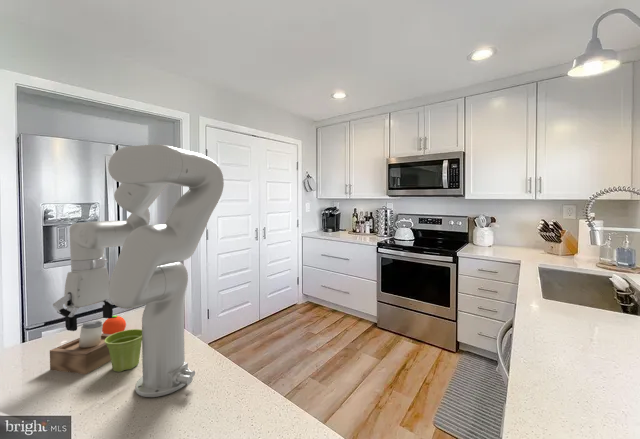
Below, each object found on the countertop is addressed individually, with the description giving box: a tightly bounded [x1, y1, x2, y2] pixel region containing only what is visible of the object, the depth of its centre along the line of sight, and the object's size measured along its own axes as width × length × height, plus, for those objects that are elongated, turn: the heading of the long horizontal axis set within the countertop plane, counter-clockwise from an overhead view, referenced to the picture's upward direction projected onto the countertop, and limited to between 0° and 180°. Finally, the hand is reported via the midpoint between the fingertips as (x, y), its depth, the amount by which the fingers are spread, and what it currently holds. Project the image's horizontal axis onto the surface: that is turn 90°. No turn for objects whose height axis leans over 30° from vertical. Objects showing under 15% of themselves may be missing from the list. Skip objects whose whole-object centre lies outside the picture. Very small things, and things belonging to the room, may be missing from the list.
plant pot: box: [104, 328, 142, 372], centre depth 80 cm, size 9×9×9 cm
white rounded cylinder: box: [79, 320, 103, 347], centre depth 83 cm, size 5×5×6 cm
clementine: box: [102, 315, 127, 334], centre depth 101 cm, size 8×7×7 cm
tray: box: [49, 333, 112, 375], centre depth 83 cm, size 12×12×6 cm
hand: (90, 323), depth 83 cm, fingers open, 9 cm apart
